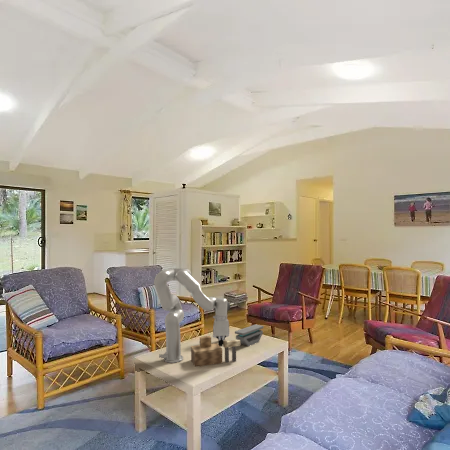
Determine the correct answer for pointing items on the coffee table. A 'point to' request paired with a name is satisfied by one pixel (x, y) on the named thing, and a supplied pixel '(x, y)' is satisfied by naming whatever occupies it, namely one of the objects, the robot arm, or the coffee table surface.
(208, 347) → the lid
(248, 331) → the sharpening stone
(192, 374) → the coffee table surface
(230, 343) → the pale wooden bar
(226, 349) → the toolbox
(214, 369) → the coffee table surface
